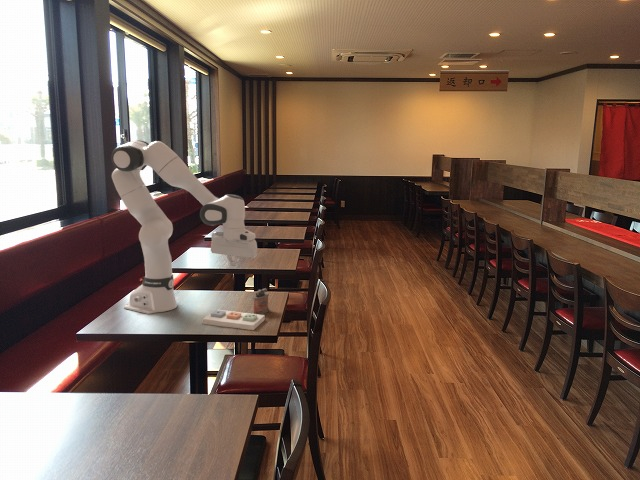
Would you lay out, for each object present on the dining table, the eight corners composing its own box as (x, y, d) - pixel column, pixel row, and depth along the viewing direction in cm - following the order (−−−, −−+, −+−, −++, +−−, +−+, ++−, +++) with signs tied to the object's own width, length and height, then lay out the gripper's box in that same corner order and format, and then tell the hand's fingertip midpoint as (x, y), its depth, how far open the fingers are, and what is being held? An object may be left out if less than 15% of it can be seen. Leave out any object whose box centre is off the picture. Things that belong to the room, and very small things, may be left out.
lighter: (257, 315, 214) (257, 292, 212) (251, 313, 216) (251, 291, 214) (270, 310, 221) (270, 288, 219) (264, 308, 223) (264, 286, 221)
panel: (202, 323, 204) (202, 318, 204) (216, 313, 216) (216, 309, 215) (253, 330, 198) (253, 325, 198) (264, 319, 210) (264, 315, 209)
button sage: (242, 324, 204) (242, 317, 203) (247, 320, 208) (247, 313, 207) (252, 325, 202) (252, 318, 202) (257, 322, 207) (257, 314, 206)
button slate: (211, 320, 207) (210, 313, 207) (216, 316, 212) (215, 309, 211) (220, 321, 206) (220, 314, 206) (225, 318, 210) (225, 311, 210)
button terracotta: (226, 322, 205) (226, 315, 205) (231, 318, 210) (231, 311, 209) (236, 323, 204) (236, 316, 204) (241, 320, 208) (241, 312, 208)
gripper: (207, 232, 212) (207, 264, 215) (252, 237, 207) (252, 270, 209) (215, 229, 218) (215, 261, 221) (259, 234, 213) (258, 266, 215)
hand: (233, 265), depth 215 cm, fingers closed
